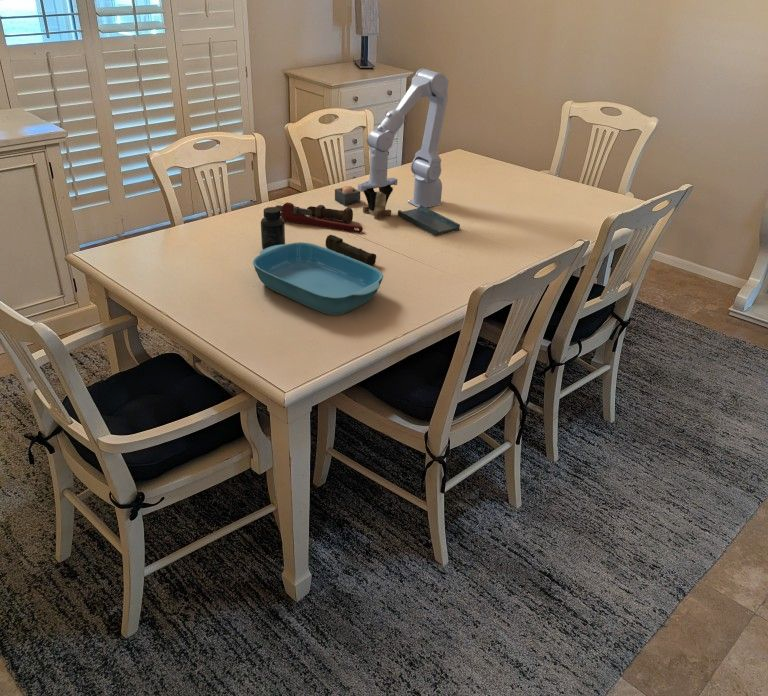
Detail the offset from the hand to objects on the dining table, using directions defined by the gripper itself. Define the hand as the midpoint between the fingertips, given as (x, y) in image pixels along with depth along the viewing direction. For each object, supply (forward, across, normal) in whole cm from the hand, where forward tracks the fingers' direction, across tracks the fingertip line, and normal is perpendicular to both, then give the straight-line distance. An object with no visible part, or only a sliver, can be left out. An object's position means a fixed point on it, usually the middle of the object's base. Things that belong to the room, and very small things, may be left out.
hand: (377, 208), depth 229 cm
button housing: (+2, +2, -15) cm, 15 cm away
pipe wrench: (+2, +23, -1) cm, 23 cm away
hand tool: (+2, +28, +24) cm, 37 cm away
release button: (+1, +2, -15) cm, 15 cm away
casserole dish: (+2, +46, +38) cm, 60 cm away
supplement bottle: (+2, +43, +8) cm, 44 cm away
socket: (+2, 0, 0) cm, 2 cm away
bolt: (+2, +16, -4) cm, 17 cm away
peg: (+2, 0, 0) cm, 2 cm away
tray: (+2, -10, +15) cm, 18 cm away
